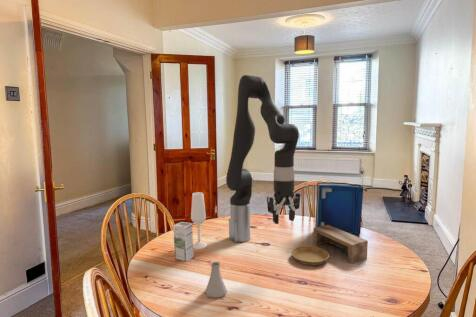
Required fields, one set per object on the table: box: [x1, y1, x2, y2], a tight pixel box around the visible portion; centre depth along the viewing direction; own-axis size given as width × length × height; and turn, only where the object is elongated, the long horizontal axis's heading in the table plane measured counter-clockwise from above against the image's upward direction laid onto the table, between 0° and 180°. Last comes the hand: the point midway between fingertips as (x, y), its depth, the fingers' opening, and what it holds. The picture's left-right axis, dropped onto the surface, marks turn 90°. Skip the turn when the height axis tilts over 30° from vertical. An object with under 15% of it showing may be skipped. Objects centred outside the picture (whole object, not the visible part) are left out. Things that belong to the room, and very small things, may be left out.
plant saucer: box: [290, 245, 330, 266], centre depth 125 cm, size 15×15×3 cm
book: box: [314, 181, 364, 236], centre depth 151 cm, size 22×7×25 cm, turn 84°
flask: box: [204, 261, 228, 299], centre depth 101 cm, size 7×7×10 cm
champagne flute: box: [190, 191, 208, 250], centre depth 138 cm, size 7×7×24 cm
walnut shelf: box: [312, 225, 369, 264], centre depth 131 cm, size 8×22×8 cm, turn 28°
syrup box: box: [173, 221, 194, 262], centre depth 126 cm, size 6×6×14 cm
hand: (283, 221), depth 117 cm, fingers open, 6 cm apart
